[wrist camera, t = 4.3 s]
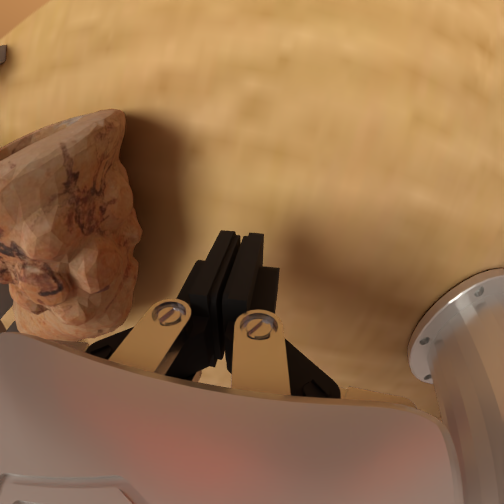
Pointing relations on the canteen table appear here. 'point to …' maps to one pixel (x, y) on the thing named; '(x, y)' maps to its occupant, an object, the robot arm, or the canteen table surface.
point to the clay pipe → (68, 228)
